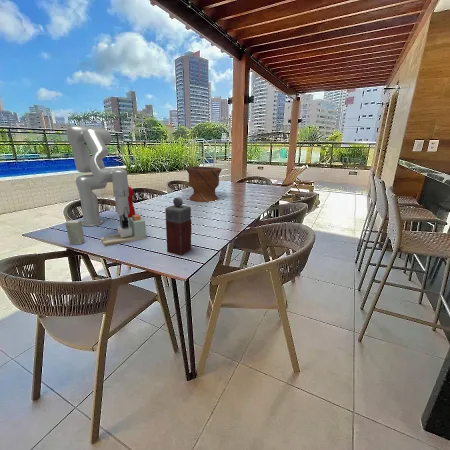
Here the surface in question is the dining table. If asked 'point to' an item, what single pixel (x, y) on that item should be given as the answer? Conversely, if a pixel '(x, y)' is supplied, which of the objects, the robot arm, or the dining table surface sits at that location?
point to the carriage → (124, 230)
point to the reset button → (136, 217)
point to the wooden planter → (203, 183)
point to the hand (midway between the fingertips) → (124, 225)
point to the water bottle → (130, 202)
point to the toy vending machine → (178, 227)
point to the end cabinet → (137, 227)
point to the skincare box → (75, 231)
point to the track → (118, 239)
